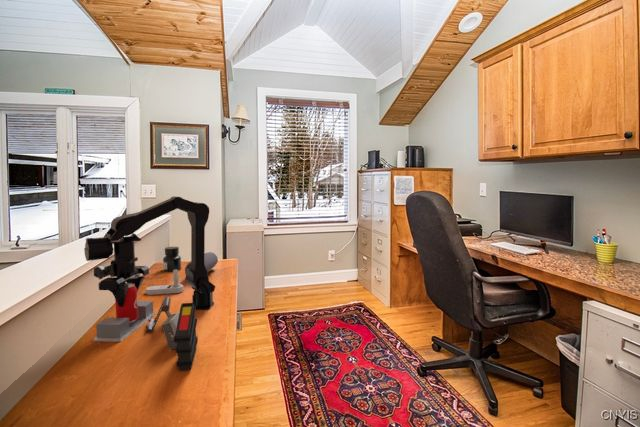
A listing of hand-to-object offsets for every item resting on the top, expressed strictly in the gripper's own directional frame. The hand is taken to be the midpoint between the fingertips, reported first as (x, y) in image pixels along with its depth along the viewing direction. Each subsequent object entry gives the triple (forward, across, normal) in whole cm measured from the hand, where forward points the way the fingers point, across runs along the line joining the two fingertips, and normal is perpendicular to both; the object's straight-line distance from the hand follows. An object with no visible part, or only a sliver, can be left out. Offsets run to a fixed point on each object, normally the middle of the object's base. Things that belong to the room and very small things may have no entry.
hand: (126, 302), depth 110 cm
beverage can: (+6, 0, 0) cm, 6 cm away
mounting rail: (+8, 0, 0) cm, 8 cm away
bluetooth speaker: (+8, -62, +3) cm, 63 cm away
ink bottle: (+8, -71, -16) cm, 74 cm away
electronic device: (+8, -34, -4) cm, 36 cm away
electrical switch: (+8, +12, +21) cm, 26 cm away
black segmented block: (+8, +22, +28) cm, 36 cm away
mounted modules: (+8, 0, 0) cm, 8 cm away
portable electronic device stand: (+8, -1, +11) cm, 13 cm away
